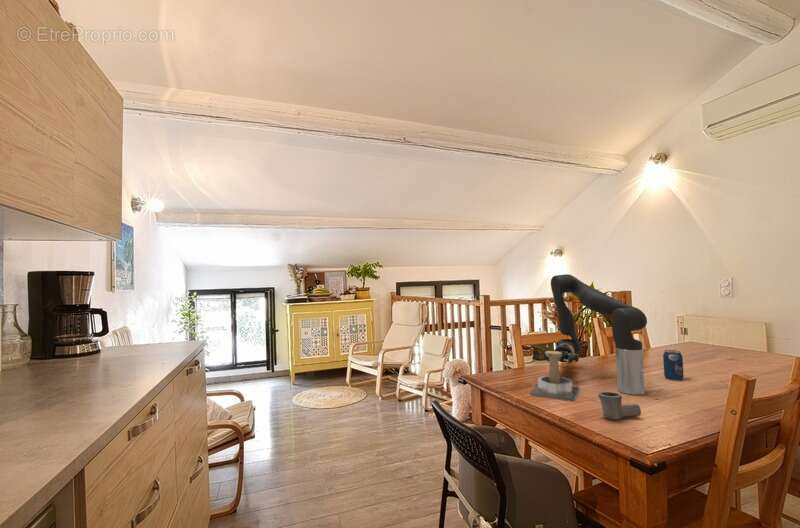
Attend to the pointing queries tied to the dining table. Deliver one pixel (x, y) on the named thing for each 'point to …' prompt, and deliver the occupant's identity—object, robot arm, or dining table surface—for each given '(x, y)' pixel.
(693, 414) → the dining table surface
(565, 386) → the duct collar
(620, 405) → the pipe
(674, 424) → the dining table surface
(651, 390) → the dining table surface
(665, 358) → the soda can
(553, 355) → the grey upright column
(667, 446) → the dining table surface
